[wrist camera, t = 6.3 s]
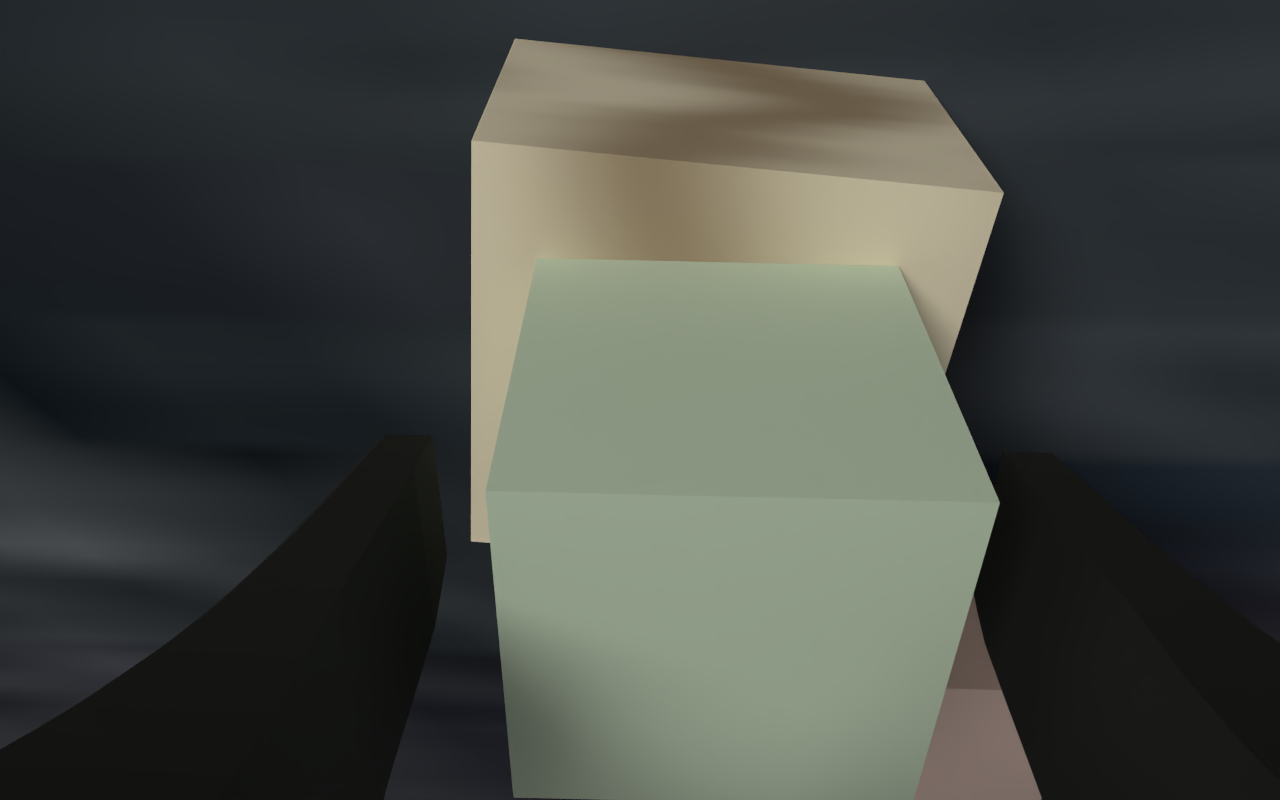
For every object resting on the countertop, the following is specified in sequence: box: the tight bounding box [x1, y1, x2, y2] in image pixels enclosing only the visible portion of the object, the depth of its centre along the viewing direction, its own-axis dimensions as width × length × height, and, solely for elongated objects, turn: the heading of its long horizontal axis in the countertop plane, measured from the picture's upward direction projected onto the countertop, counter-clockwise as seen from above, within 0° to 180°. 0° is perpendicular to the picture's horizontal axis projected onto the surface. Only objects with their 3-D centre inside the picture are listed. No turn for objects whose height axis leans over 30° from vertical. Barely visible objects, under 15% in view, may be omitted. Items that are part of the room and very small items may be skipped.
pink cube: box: [914, 594, 1042, 800], centre depth 22 cm, size 5×5×5 cm
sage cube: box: [486, 258, 1000, 800], centre depth 13 cm, size 5×5×5 cm
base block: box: [471, 39, 1004, 543], centre depth 17 cm, size 7×7×5 cm
